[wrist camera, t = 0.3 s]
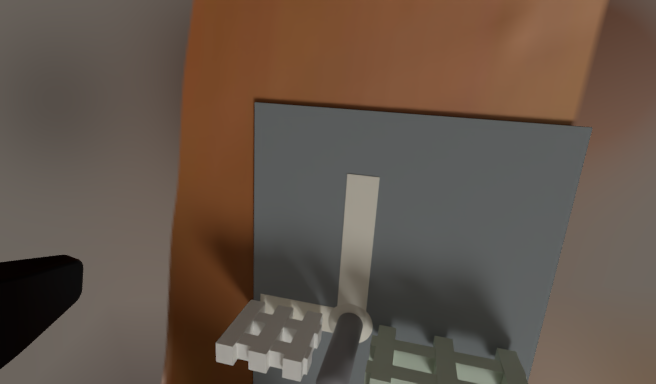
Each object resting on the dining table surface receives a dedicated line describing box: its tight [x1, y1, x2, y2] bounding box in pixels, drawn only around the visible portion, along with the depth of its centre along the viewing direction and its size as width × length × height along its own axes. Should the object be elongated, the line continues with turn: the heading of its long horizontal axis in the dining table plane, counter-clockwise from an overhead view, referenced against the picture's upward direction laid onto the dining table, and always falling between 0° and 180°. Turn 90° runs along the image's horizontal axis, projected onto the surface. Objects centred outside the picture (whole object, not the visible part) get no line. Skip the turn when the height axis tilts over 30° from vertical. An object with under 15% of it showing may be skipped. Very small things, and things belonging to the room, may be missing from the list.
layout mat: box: [253, 102, 592, 384], centre depth 22 cm, size 22×17×1 cm
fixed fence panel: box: [216, 300, 363, 384], centre depth 21 cm, size 7×2×5 cm, turn 87°
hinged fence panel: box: [364, 325, 528, 384], centre depth 19 cm, size 8×1×4 cm, turn 87°
